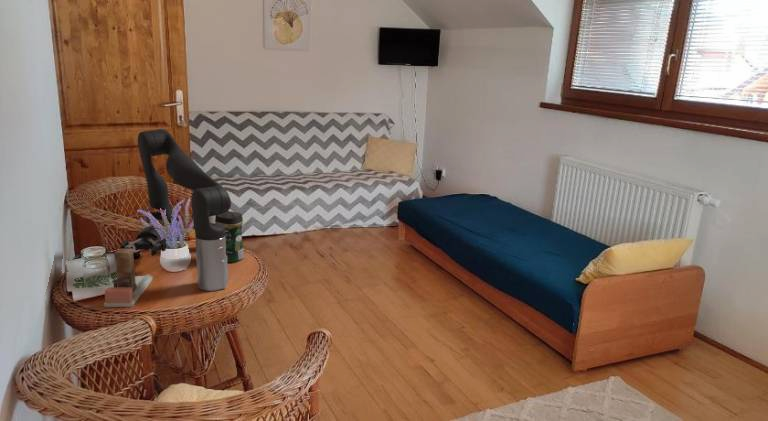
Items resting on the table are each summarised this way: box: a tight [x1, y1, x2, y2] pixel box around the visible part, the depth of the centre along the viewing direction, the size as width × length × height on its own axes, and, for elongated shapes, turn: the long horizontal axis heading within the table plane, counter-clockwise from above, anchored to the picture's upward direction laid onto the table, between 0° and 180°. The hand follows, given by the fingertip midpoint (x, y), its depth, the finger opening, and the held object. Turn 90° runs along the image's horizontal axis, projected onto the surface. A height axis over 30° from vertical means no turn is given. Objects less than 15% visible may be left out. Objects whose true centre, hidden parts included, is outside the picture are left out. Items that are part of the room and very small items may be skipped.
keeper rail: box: [103, 273, 153, 308], centre depth 173 cm, size 8×21×5 cm, turn 7°
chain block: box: [112, 248, 137, 291], centre depth 169 cm, size 4×7×13 cm, turn 7°
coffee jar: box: [215, 210, 244, 263], centre depth 203 cm, size 10×8×19 cm
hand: (139, 254), depth 181 cm, fingers open, 8 cm apart
